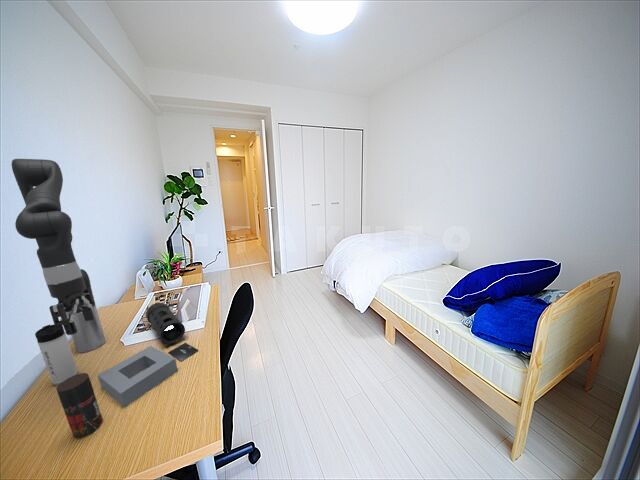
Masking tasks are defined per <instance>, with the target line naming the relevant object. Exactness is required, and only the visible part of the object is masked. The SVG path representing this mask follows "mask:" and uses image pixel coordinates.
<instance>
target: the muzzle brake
mask: <svg viewBox="0 0 640 480" xmlns="http://www.w3.org/2000/svg"><path fill="white" fill-rule="evenodd" d="M145 318H146V320H147V321H148V323H149V324H150V325H151V327H152V328H153V329H154V332H155V333H156V334H157V336H158V337H159V339H160V341H161V342H162V343H163V344H165V345H175V344H178V341H180V340H181V339H183V337H184V335H185V332H186V327H185V325H184V324H183V322H182V321H180V319H179V318H178V317H177V316H176V314H175V313H173V311H172V310H171V308H170V307H169V305H167V304H166V303H164V302H155V303H153V304H151V305H150V306H149V307H148V308H147V310H146V311H145ZM170 325H173V326H174V328H173V329H171V330H168V331H164V330H165V329H166V328H167V327H168V326H170Z"/></svg>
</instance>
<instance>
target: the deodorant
mask: <svg viewBox="0 0 640 480" xmlns="http://www.w3.org/2000/svg"><path fill="white" fill-rule="evenodd" d="M55 389H56V390H55V391H56V392H57V395H58V397H59V400H60V404H61V407H62V408H63V412H64V415H65V417H66V420H67V422H68V426H69V428H70V431H71V434H72V436H73V438H74V439H75V440H81V439H83V438H86V437H88V435H89V436H91V435H92V434H94V433H95V432H96V431H97V430H98V429H99V428H100V427H101V426H102V424H103V422H104V419H103V417H102V412H101V408H100V407H99V403H98V401H97V397H96V394H95V391H94V388H93V384H92V382H91V379H90V376H89V373H87V372H84V373H78V374H77V375H74V376H72V377H70V378H68V379H66V380H64V381H63V382H62V383H60V384H59V385H58V386H56V388H55Z"/></svg>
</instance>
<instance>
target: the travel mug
mask: <svg viewBox="0 0 640 480" xmlns="http://www.w3.org/2000/svg"><path fill="white" fill-rule="evenodd" d="M34 335H35V339H36V340H37V344H38V346H39V347H38V348H39V350H40V354H41V355H42V358H43V361H44V364H45V367H46V369H47V370H46V371H47V372H48V375H49V378H50V380H51V384H52V386H54V387H58V385H59V384H60V383H62V382H63V381H64V380H66V379H68V378H70V377H72V376H74V375H77V374H79V370H78V367H77V365H76V361H75V359H74V356H73V353H72V349H71V347H70V346H71V345H70V343H69V340H68V337H67V334H66V331H65V329H64V327H63V325H58V326H55V325H54V324H47V325H44V326H42V327H41V328H40V329H38V330H37V331H35V333H34Z"/></svg>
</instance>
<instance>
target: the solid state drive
mask: <svg viewBox="0 0 640 480" xmlns="http://www.w3.org/2000/svg"><path fill="white" fill-rule="evenodd" d="M198 352H199V349H197V348H195V347H193V346H192V345H190V344H188V343H187V342H184V343H182V344H181V345H179V346H177V347H175V348H173V349H171V350H170V351H167V355H169V356H171V357H173V358H175V360H176V361H177V360H178V362H181V363H182V362H184V361H185V360H187V359H188V358H190V357H191V356H193V355H195V354H196V353H198Z"/></svg>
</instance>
